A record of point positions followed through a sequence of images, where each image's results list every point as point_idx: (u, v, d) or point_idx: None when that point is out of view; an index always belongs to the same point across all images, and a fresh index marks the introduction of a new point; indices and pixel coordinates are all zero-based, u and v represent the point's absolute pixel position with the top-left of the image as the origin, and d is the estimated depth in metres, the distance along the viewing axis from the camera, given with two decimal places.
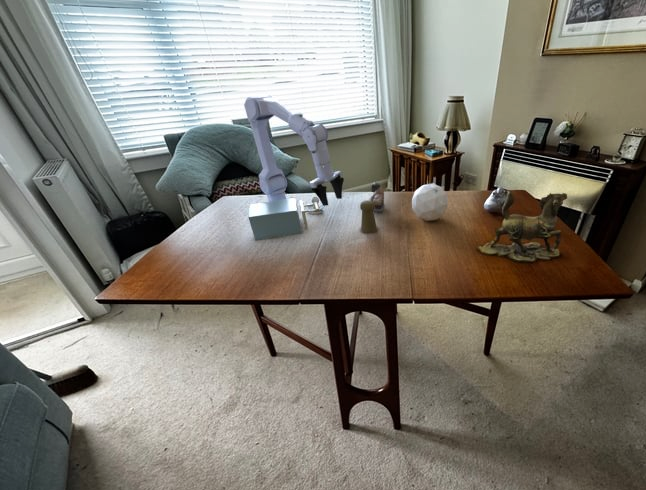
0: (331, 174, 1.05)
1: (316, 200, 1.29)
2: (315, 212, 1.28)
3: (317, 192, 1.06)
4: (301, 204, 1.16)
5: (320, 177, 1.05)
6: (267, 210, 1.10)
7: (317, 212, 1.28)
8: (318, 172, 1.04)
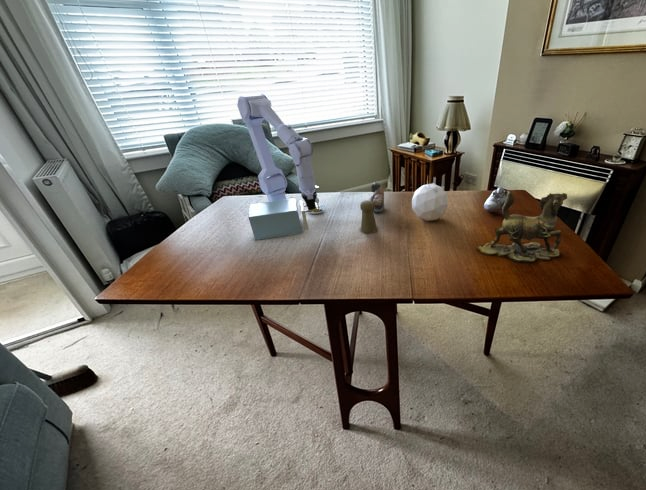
0: None
1: (316, 200, 1.29)
2: (315, 212, 1.28)
3: (306, 200, 1.14)
4: (301, 204, 1.16)
5: (308, 189, 1.10)
6: (267, 210, 1.10)
7: (317, 212, 1.28)
8: (306, 184, 1.09)
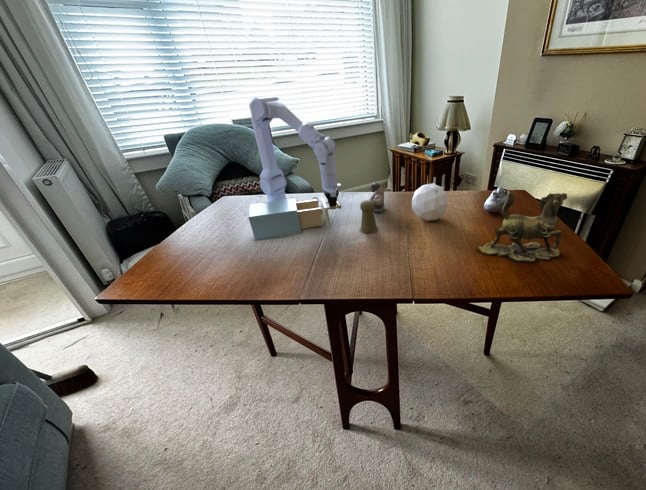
0: (337, 183, 1.15)
1: None
2: None
3: (329, 198, 1.16)
4: (323, 201, 1.18)
5: (331, 186, 1.12)
6: (267, 210, 1.10)
7: None
8: (329, 182, 1.11)
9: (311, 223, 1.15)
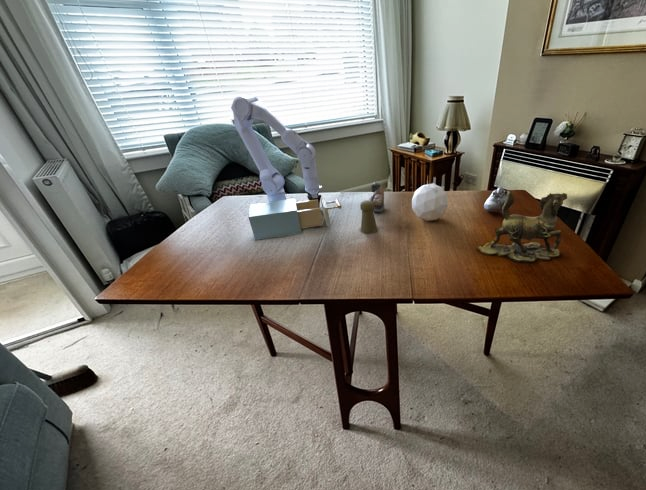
0: None
1: None
2: None
3: None
4: (323, 201, 1.18)
5: (313, 188, 1.22)
6: (267, 210, 1.10)
7: None
8: (311, 184, 1.21)
9: (311, 223, 1.15)
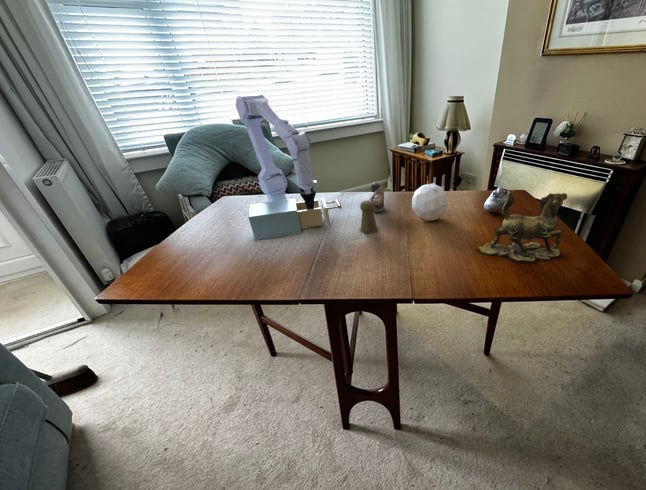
0: None
1: None
2: None
3: (305, 198, 1.10)
4: (323, 201, 1.18)
5: (306, 183, 1.09)
6: (267, 210, 1.10)
7: None
8: (304, 179, 1.08)
9: (311, 223, 1.15)
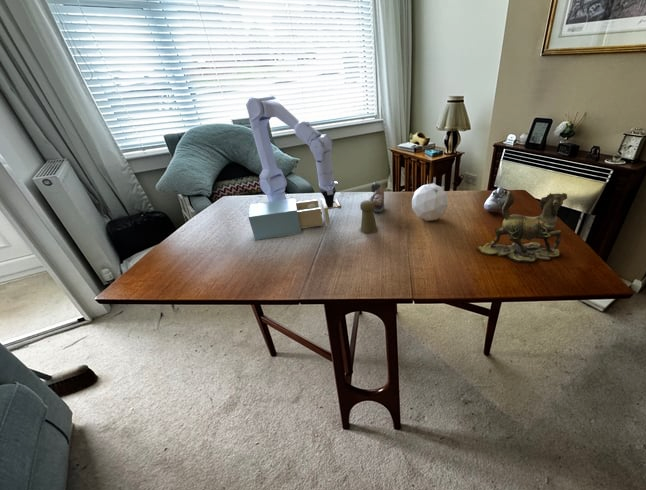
0: None
1: (312, 207, 1.17)
2: None
3: (325, 196, 1.15)
4: (323, 201, 1.18)
5: (328, 184, 1.11)
6: (267, 210, 1.10)
7: None
8: (326, 180, 1.10)
9: (311, 223, 1.15)
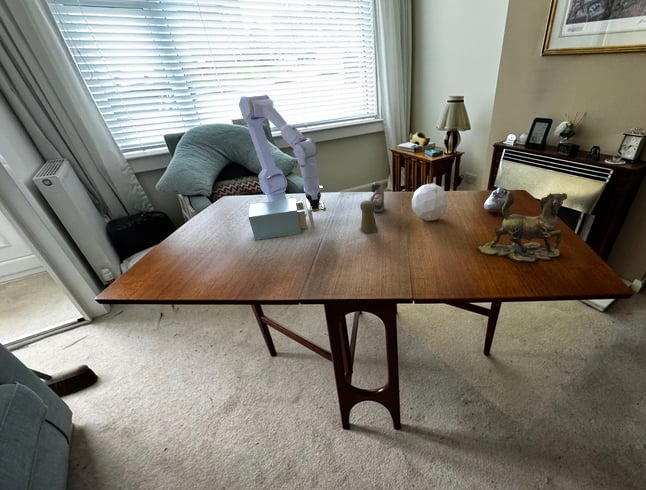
0: None
1: (297, 209, 1.16)
2: None
3: (311, 200, 1.14)
4: (307, 203, 1.17)
5: (312, 189, 1.11)
6: (267, 210, 1.10)
7: None
8: (311, 184, 1.10)
9: None
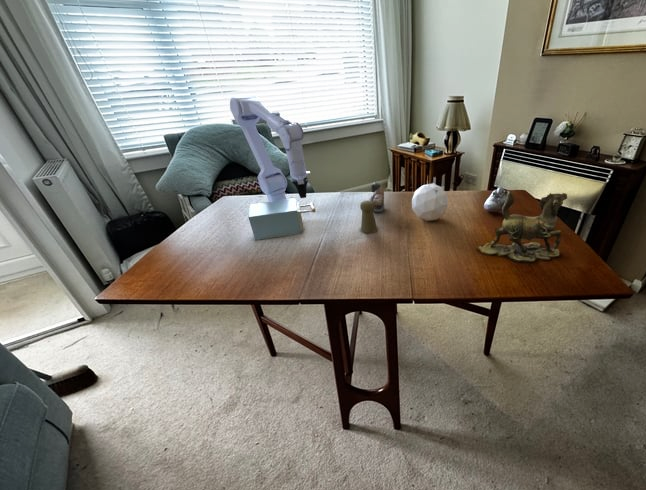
0: None
1: None
2: None
3: (297, 186, 1.12)
4: (297, 205, 1.16)
5: (299, 174, 1.09)
6: (267, 210, 1.10)
7: None
8: (297, 169, 1.08)
9: None
